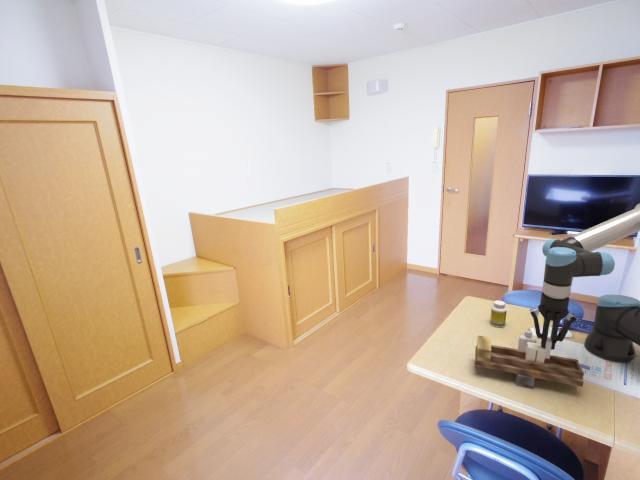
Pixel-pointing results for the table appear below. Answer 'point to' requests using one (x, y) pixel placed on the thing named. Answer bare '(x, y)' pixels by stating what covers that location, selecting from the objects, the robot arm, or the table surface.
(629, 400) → the table surface
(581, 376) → the beam
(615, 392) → the table surface
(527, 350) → the block
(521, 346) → the white rectangular bottle
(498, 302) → the pill bottle
